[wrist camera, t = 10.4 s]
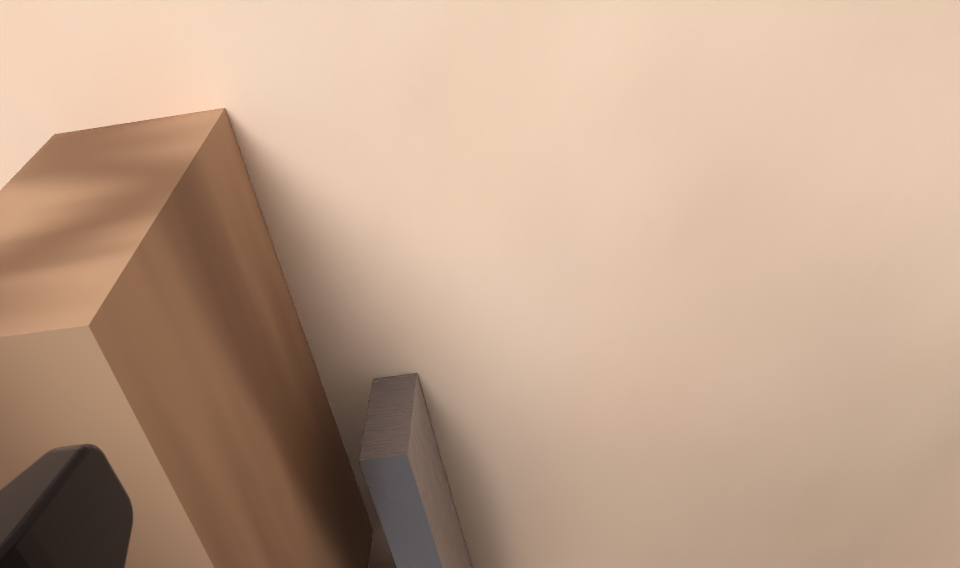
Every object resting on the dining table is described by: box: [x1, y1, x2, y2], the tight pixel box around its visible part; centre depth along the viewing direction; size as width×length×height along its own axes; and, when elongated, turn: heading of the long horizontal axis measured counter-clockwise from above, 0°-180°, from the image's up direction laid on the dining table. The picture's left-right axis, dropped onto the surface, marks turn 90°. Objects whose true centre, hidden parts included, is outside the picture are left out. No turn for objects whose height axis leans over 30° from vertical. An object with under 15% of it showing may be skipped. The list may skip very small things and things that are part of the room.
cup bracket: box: [359, 373, 472, 568], centre depth 25 cm, size 9×9×3 cm
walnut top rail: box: [0, 108, 373, 568], centre depth 20 cm, size 4×14×8 cm, turn 9°
